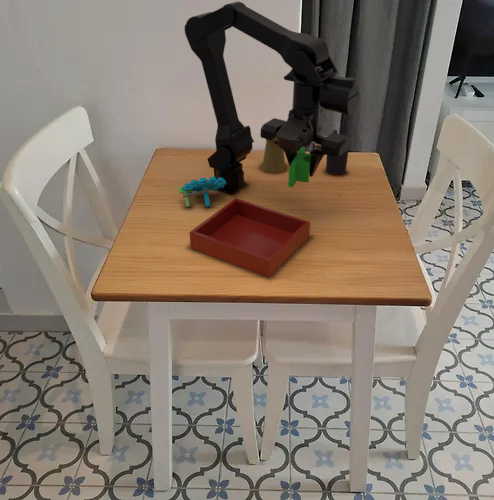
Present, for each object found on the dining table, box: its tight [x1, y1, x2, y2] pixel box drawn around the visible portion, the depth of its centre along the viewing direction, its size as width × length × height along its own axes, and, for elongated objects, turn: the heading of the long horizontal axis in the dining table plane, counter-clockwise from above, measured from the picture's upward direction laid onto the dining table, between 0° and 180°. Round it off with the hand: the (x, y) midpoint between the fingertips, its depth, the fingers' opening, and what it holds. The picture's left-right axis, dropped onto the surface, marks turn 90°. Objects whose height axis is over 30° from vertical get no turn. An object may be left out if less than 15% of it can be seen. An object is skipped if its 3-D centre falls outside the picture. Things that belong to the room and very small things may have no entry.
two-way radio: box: [325, 115, 350, 175], centre depth 137 cm, size 6×4×15 cm
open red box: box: [189, 197, 311, 278], centre depth 113 cm, size 19×17×4 cm
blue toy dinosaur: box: [177, 176, 226, 208], centre depth 126 cm, size 11×6×10 cm
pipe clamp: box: [287, 146, 311, 188], centre depth 120 cm, size 11×4×5 cm, turn 165°
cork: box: [261, 136, 286, 174], centre depth 140 cm, size 6×6×11 cm
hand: (302, 173), depth 121 cm, fingers closed on pipe clamp, 4 cm apart
